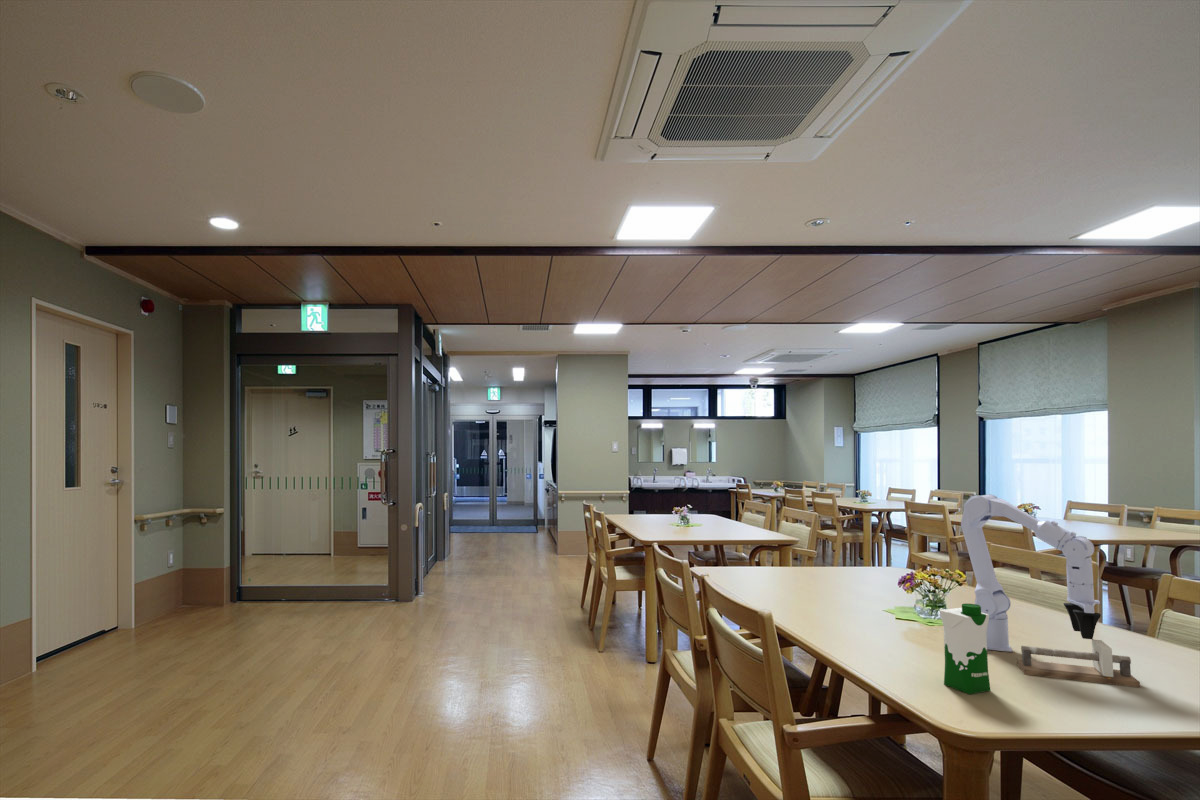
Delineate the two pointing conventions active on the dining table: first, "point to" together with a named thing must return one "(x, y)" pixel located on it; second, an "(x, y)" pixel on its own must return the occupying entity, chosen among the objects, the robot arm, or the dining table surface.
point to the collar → (1103, 658)
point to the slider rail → (1075, 667)
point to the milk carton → (966, 648)
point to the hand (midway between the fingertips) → (1082, 634)
